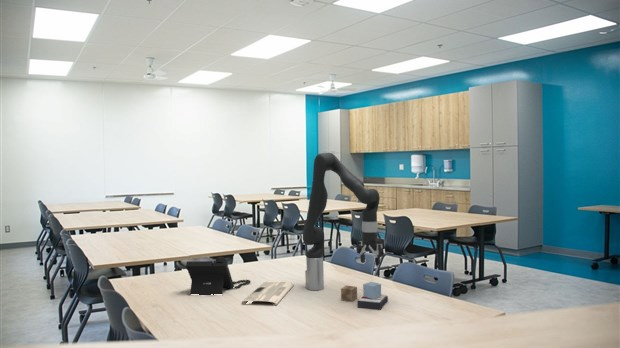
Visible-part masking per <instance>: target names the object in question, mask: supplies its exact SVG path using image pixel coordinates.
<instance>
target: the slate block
mask: <svg viewBox="0 0 620 348" xmlns="http://www.w3.org/2000/svg"><path fill="white" fill-rule="evenodd" d="M362 286H363V287H362V288H363V289H362V293H363V296H362V297H367V298H371V299H375V298H378V297H381V294H382V284H381V283H379V282H374V281H369V282H366V283H363V284H362Z"/></svg>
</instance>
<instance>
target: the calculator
mask: <svg viewBox="0 0 620 348" xmlns="http://www.w3.org/2000/svg"><path fill="white" fill-rule="evenodd" d="M388 301H389V299H388V295H387V294H382V293H381V297H378V298H375V299H371V298H367V297H363V296H361V297H360V298H359V299H357V308H358V309H365V310H372V311H373V310H376V311H381V310H382V309H383V307H384V306H385V305H386V304H387V303H388Z"/></svg>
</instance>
